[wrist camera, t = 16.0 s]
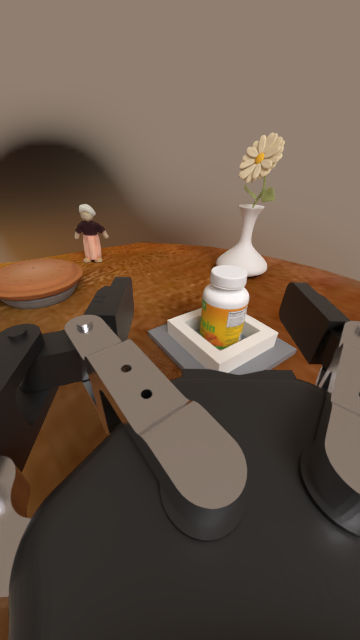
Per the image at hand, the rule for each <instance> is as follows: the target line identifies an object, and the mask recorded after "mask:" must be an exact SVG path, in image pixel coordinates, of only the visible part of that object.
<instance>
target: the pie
mask: <svg viewBox="0 0 360 640" xmlns="http://www.w3.org/2000/svg"><path fill="white" fill-rule="evenodd" d="M82 274H83V270H82V269H81V267H80V266H78V265H76V264H75V263H71V262H68V261H64V260H60V259H35V260H28V261H22V262H18V263H14V264H11V265H8V266H5V267H3V268H1V269H0V300H1V301H2V302H4V303H6V304H7V305H9V306H11V307H14V308H19V309H36V308H42V307H47V306H51V305H54V304H57V303H59V302H62V301H64V300H66V299H67V298H69V297H70V296H71V295H72V294H73V293H74V291H75V289H76V286H77V284H78V281H79V280H80V279H81V277H82Z"/></svg>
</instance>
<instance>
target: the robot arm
mask: <svg viewBox="0 0 360 640" xmlns="http://www.w3.org/2000/svg"><path fill="white" fill-rule="evenodd" d="M133 314H134V302H133V290H132V280H131V277H115V278H114V280H113V282H112V284H111V286H104V287H103V288H101V289H100V290H98V291H97V293H96V294H95V296H94V298H93V300H92V302H91V303H90V305H89V306H88V308H87V310H86V311H85V313H84V315H82V316H78V317H75V318H73V319H71V320H70V321H69V322H67V324H66V325H65V330H62V331H57V332H51V333H46V334H42V333H41V330H40V328H39V327H38V326H36V325H33V324H21V325H16V326H13V327H10V328H8V329H5V330H4V331H2V332H1V333H0V608H5V607H9V634H8V640H360V322H358V321H350V320H349V319H348V318H347V317H346V316H345V315H344V314H343V313H341V312H340V311H339V310H338V309H336V307H335V306H334V305H333V304H331V302H330V301H328V300H327V299H326V298H325V297H323V296H322V295H320V294H318V293H317V292H316V291H315V290H314V289H313V288H312V287H311V286H309V285H308V284H307V283H298V282H291V283H289V284H288V286H287V288H286V291H285V294H284V297H283V300H282V303H281V306H280V310H279V317H280V320H281V322H282V324H283V325H284V327H285V328H286V330H287V331H288V333H289V334H290V336H291V337H292V339H293V340H294V342H295V343H296V345H297V346H298V348H299V350H300V351H301V353H302V354H303V356H304V357H305V359H306V360H307V362H308V363H309V364H322V365H323V366H322V368H321V369H320V371H319V374H318V377H317V380H316V383H315V385H313V384H311V383H308V382H305V381H302V380H298V379H296V377H295V375H294V373H293V372H292V370H262V371H257V372H253V373H248V374H243V375H236V374H231V373H226V372H221V371H216V370H212V369H182V377H180V378H176V379H173V380H170V381H169V380H168V379H167V377H166V376H165V375H164V374H163V373H162V372H161V371H160V370H159V369H158V368H157V367H156V366H155V365H154V364H153V363H152V361H151V360H150V359H149V358H148V357H147V356H146V355H145V354H144V353H143V352H142V351H141V350H140V349H139V348H138V347H137V345H136V344H135V343H134V342H133V341H132V340H130V339H127V337H128V334H129V330H130V326H131V322H132V319H133ZM78 381H80V382H81V384H82V386H83V388H84V390H85V392H86V393H87V395H88V397H89V399H90V401H91V402H92V404H93V406H94V408H95V410H96V412H97V413H98V416H99V418H100V420H101V423H102V426H103V428H104V430H105V432H106V434H107V437H106V438H105V439H104V440H103V441H102V442H101V443H100V444H99V445H98V446H97V447H96V448H95V449H94V450H93V451H92V452H91V453H90V454H89V455H88V456H87V457H86V458H85V459H84V460H83V461H82V462H81V463H80V464H79V465H78V466H77V467H76V468H75V469H74V470H73V471H72V472H71V473H70V474H69V475H68V476H67V477H66V478H65V479H64V480H63V481H62V482H61V483H60V484H59V485H58V486H57V487H56V488H55V489H54V490H53V491H52V492H51V493H50V494H49V495H48V496H47V498H46V499H45V500H44V501H43V502H42V504H41V505H40V506H39V508H38V509H37V511H36V512H35V514H34V515H33V517H32V518H27V515H26V510H27V504H28V500H29V496H30V486H29V483H28V481H27V480H26V478H25V477H24V476H23V474H22V470H23V468H24V466H25V463H26V461H27V459H28V456H29V454H30V452H31V450H32V447H33V445H34V443H35V440H36V438H37V436H38V433H39V431H40V429H41V427H42V424H43V422H44V420H45V417H46V415H47V413H48V410H49V408H50V406H51V404H52V401H53V399H54V397H55V394H56V392H57V390H58V387H59V386H62V385H66V384H70V383H74V382H78Z"/></svg>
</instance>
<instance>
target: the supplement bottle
mask: <svg viewBox="0 0 360 640" xmlns="http://www.w3.org/2000/svg"><path fill="white" fill-rule="evenodd" d="M246 280H247V272H246V270H244V269H242V268H240V267H237V266H232V265H220V266H216V267H214V268H213V269H212V270H211V277H210V282H211V284H209V285H208V286H207V287H206V288H205V289H204V292H203V300H202V311H201V322H200V332H199V335H200V336H202V337H203V338H204V339H205V340H207V341H208V342H209V343H211V344H212V345H213V346H214V347H216V348H217V349H218V350H219V351H221V350H223V349H225V348H227V347H229V346H231V345H233V344H235V343H237V342H239V341H240V340H241V335H242V330H243V326H244V321H245V316H246V311H247V307H248V302H249V294H248V292H247V290H246V289H245V288H244V286H245V284H246Z"/></svg>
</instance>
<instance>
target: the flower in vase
mask: <svg viewBox="0 0 360 640" xmlns="http://www.w3.org/2000/svg"><path fill="white" fill-rule="evenodd" d="M277 136H278V134H277V133H276V134H274V133H271V134H270V135H269V136H268V137H267V138H266V136H265V135H263V136H261V138H260V141H259V142H258V141H255V142H254V144H253V147H249V148H248V149H247V151H246V152H247V155H244V156H243V158H242V159H243V160H242V162H241V164H240V170H242V171H241V172H240V173H239V177H241V178H242V180H245V179H246V180H245V182H246V183H249V182H254V181H255V180H256V179H257V178H258V179H261V178H262V177H264V186H263V189H262V192H261V193H260V195H259V196H258V198H256V195H255V194H254V193H252V192H251V191H250V190H249V189H248V188H247V186H246V185H244V186H245V187H244V188H245V190H246V191H247V192H248V193H249V194H250V195H251V196H253V197H254V198H255V199H256V201H255V203H254V204H253V205H252V204H241V205H239V208H240V211H241V214H242V231H241V236H240V240H239V242H238V244H237V245H236V246H234V247H233V248H231V249H230V250H228V251H227V252H225V253H224V254H222V255H221V256H220V257H219V258H218V259H217V261H216V265H217V266H220V265H232V266H237V267H240V268H242V269H244V270H246V272H247V277H252V276H258V275H261V274H263V273H264V272H265V271H266V270H267V264H266V262H265V260H264V259H263V258H262V257H261V255H260V254H259V253H258V252H257V251H256V250H255V249H254V248H253V246H252V244H251V236H252V231H253V227H254V224H255V221H256V218H257V216H258V215H259V213H260V212H261V210H262V209H263V208H264V206H261V205H255V204H256V203H257V201H258V199H259V198H260V196H261V200H262V202H267V201H273V200H275V195H274V190H273V188H272V187H270V188H268V189H265V185H266V175H267V174H269V172H270V169H273V168H274V167H275V165H276V163H277V161H278V160H280V159H281V157H282V154H281V152H282V151H283V150H284V147H283V146H284V144H285V141H282V140H283V138H282V137H278V138H277ZM264 189H265V190H264Z"/></svg>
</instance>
